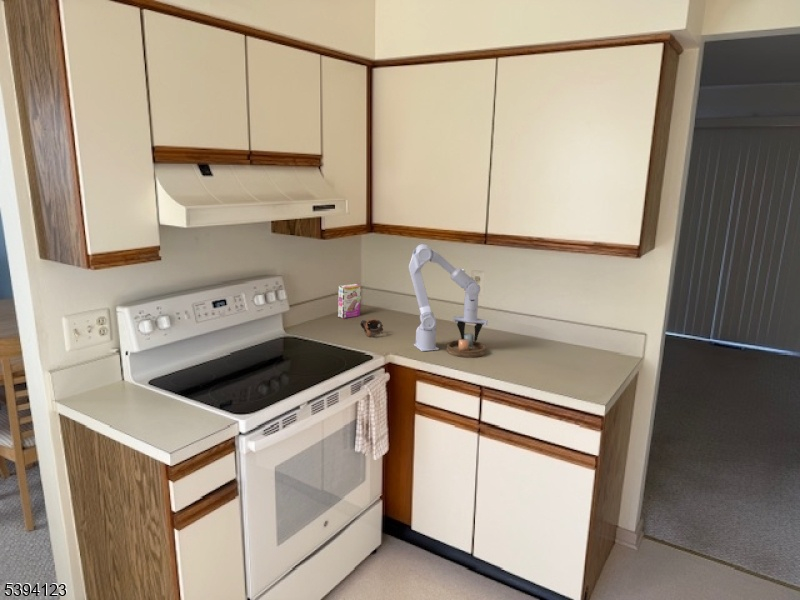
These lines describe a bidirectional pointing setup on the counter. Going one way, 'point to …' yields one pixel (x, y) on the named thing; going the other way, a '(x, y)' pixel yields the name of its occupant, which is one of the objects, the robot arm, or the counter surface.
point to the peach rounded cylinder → (463, 345)
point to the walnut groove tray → (472, 352)
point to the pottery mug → (371, 326)
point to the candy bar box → (349, 301)
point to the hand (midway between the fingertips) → (469, 339)
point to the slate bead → (469, 339)
